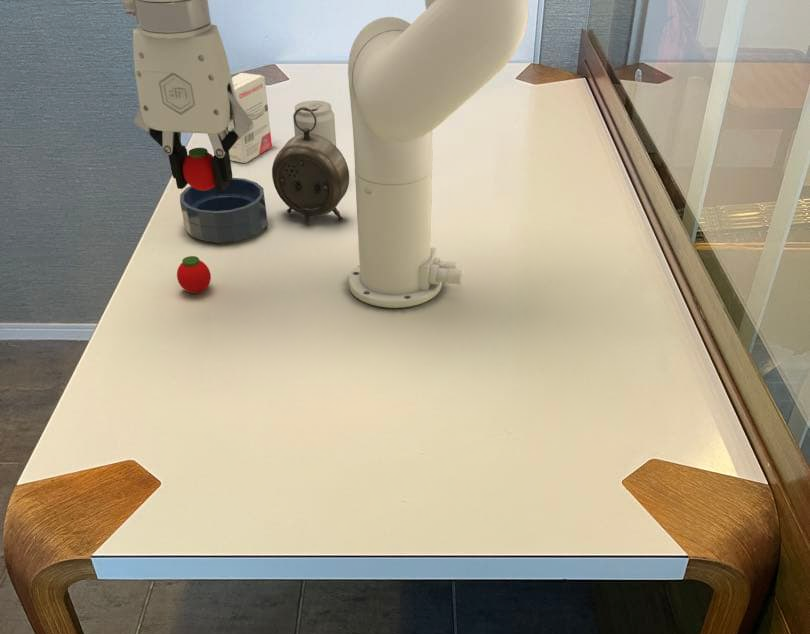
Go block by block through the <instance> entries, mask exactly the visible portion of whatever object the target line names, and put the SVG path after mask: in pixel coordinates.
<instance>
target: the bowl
mask: <svg viewBox="0 0 810 634" xmlns="http://www.w3.org/2000/svg"><path fill="white" fill-rule="evenodd" d="M264 190H265V189H264V187H263V186H261V185H260V184H259V183H258V182H257V181H254V180H249V179H247V178H241V177H232V180H231V182H230V184H229V185H228V186H227V187H226V189H225V190H224V191H223V192H219V191H218V190H216V185H215V186H214V187H213V188H212V189H209V190H206V191H201V190H197V189H195V188H193V187H191V186H190V185H189V186H188V187H187V186H186V187H185V188H184V190H183V191H182V192H181V193H180V194H179V203H180V204H179V205H180V209H181V214H182V218H183V224H184V228H185V231H186V232H187V233H188V234H189V235H190V236H191V237H193V238H196V239H198V240H201V241H203V242H212V243H233V242H238V241H242V240H245V239H248V238H251V237H253V236H255V235H257V234H259V233H261V232H262V231H263V230H264V229H265V228H266V226H267V225H268V223H269V222H268V214H267V207H266V198H265V191H264Z"/></svg>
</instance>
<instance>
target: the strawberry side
mask: <svg viewBox="0 0 810 634" xmlns="http://www.w3.org/2000/svg"><path fill="white" fill-rule="evenodd" d="M181 261H182V262H181V263H180V265H179V266H178V267H177V271H176V279H177V282H178V284H179V286H180V287H181V288H182V289H183V290H184V291H186V292H187V293H190V294H199V293H202V292H204V291H205V290H207V288H208V287H209V285H210V283H211V281H212V275H211V271H210V269H209V267H208V265H206V263H205V262H204V261H202V260H200V258H199V257H198V256H195V255H194V256H193V255H190V256H186V257H183V259H182V260H181Z"/></svg>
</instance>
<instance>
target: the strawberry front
mask: <svg viewBox="0 0 810 634" xmlns="http://www.w3.org/2000/svg"><path fill="white" fill-rule="evenodd" d="M213 156H214V155H213V154H211V153H209V151H208V149H207V148H205V147H194V148H190V150H188V156H187V157H186V159H185V160H184V163H183V175H184V178H185V180H186V181H187V183H188V184H187V185H189V186H191V187H193V188H195V189H197V190H201V191H206V190H209V189H212V188H213V187H214V186H215V179H214V173H213V167H212V161H211V160H212V158H213Z"/></svg>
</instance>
